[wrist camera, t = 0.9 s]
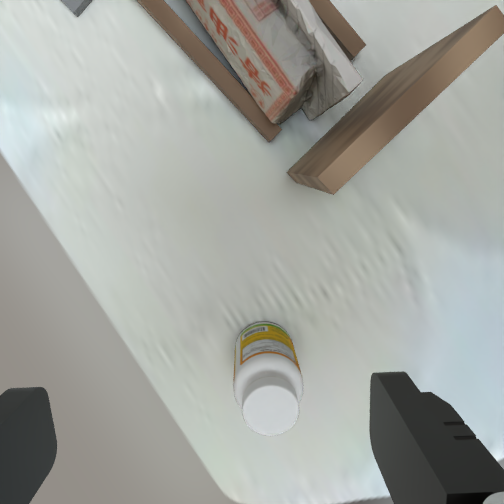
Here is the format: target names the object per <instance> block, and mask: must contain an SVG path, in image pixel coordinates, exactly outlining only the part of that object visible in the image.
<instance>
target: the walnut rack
mask: <svg viewBox="0 0 504 504" xmlns="http://www.w3.org/2000/svg"><path fill="white" fill-rule="evenodd" d="M137 1H138V2H139V3H140V4H141V5H142V7H143V8H144V9H145V10H146V11H147V12H148V13H149V14H150V15H151V16H152V17H153V18H154V19H155V21H156V22H157V23H158V24H159V25H160V26H161V27H162V28H163V29H164V30H165V31H166V32H167V33H168V35H169V36H170V37H171V38H172V39H173V40H174V41H175V42H176V43H177V44H178V45H179V46H180V47H181V49H182V50H183V51H184V52H185V53H186V54H187V55H188V56H189V57H190V58H191V59H192V60H193V61H194V62H195V64H196V65H197V66H198V67H199V68H200V69H201V70H202V71H203V72H204V73H205V74H206V75H207V76H208V78H209V79H210V80H211V81H212V82H213V83H214V84H215V85H216V86H217V87H218V88H219V89H220V90H221V92H222V93H223V94H224V95H225V96H226V97H227V98H228V99H229V100H230V101H231V102H232V103H233V104H234V105H235V107H236V108H237V109H238V110H239V111H240V112H241V113H242V114H243V115H244V116H245V117H246V118H247V119H248V121H249V122H250V123H251V124H252V125H253V126H254V127H255V128H256V129H257V130H258V131H259V132H260V133H261V135H262V136H263V137H264V138H265V139H266V140H267V141H268V142H270V141H271V140H272V139H273V138H274V137H275V136H276V135H277V134H278V133H279V132H280V131H281V130H282V129H281V128H280V127H279V126H278V125H277V124H275V123H272V122H271V121H270V120H269V118H268V117H267V116H266V115H265V113H264V112H263V111H262V110H261V108H260V107H259V106H258V104H257V103H256V101H255V100H254V98H253V97H252V96H251V95H250V94H249V93H248V92H247V91H246V90H245V89H244V88H243V86H242V85H241V84H240V83H239V82H238V81H237V80H236V79H235V78H234V77H233V76H232V74H231V73H230V72H229V71H228V70H227V69H226V68H225V67H224V66H223V65H222V64H221V62H220V61H219V60H218V59H217V58H216V57H215V56H214V55H213V54H212V53H211V52H210V50H209V49H208V48H207V47H206V46H205V45H204V44H203V43H202V42H201V41H200V40H199V38H198V37H197V36H196V35H195V34H194V33H193V32H192V31H191V30H190V29H189V27H188V26H187V25H186V24H185V23H184V22H183V21H182V20H181V19H180V18H179V17H178V15H177V14H176V13H175V12H174V11H173V10H172V9H171V8H170V7H169V6H168V5H167V3H166V2H165V1H164V0H137ZM309 2H310V3H311V5H312V6H313V8H314V10H315V11H316V13H317V15H318V16H319V18H320V19H321V21H322V23H323V24H324V25H325V27H326V28H327V30H328V31H329V32H330V34H331V35H332V37H333V38H334V39H335V41H336V42H337V44H338V45H339V47H340V48H341V49H342V51H343V52H344V54H345V55H346V56H347V58H348V59H349V61H351V60H352V59H353V58H354V57H355V56H356V55H357V54H358V53H359V52H360V51H361V50H362V49H363V48H364V47H365V46H366V44H365V43H364V42H363V40H362V39H361V38H360V37H359V36H358V34H357V33H356V32H355V31H354V29H353V28H352V27H351V26H350V25H349V23H348V22H347V21H346V20H345V19H344V17H343V16H342V15H341V14H340V12H339V11H338V10H337V9H336V8H335V6H334V5H333V4H332V3H331V2H330V0H309ZM503 34H504V15H503V14H502V12H501V11H500V10H499V8H498V7H497V5H495V6H494V7H492V8H491V9H489V10H487V11H486V12H484V13H483V14H481V15H480V16H478V17H476V18H475V19H473V20H472V21H470V22H468V23H467V24H465V25H464V26H462V27H461V28H459V29H457V30H456V31H454V32H453V33H451V34H450V35H448V36H446V37H445V38H443V39H442V40H440V41H439V42H437V43H435V44H434V45H432V46H431V47H429V48H427V49H426V50H424V51H423V52H421V53H420V54H418V55H416V56H415V57H413V58H412V59H410V60H409V61H407V62H405V63H404V64H402V65H401V66H399V67H398V68H396V69H394V70H393V71H391V72H390V73H388V74H386V75H385V76H384V77H383V78H382V79H381V80H380V81H379V82H378V83H377V84H376V85H375V86H374V87H373V88H372V89H371V90H370V91H369V92H368V93H367V94H366V95H365V96H364V97H363V98H362V99H361V100H360V101H359V102H358V103H357V104H356V105H355V106H354V107H353V108H352V109H351V110H350V111H349V112H348V113H347V114H346V115H345V116H343V117H342V118H341V119H340V120H339V121H338V122H337V123H336V124H335V125H334V126H333V127H332V128H331V129H330V130H329V131H328V132H327V133H326V134H325V135H324V136H323V137H322V138H321V139H320V140H319V141H318V142H317V143H316V144H315V145H314V146H313V147H312V148H311V149H310V150H309V151H308V152H307V153H306V154H305V155H304V156H303V157H302V158H301V159H300V160H299V161H298V162H297V163H296V164H295V165H294V166H292V167H291V168H290V169H289V170H288V171H287V173H288V174H289V175H290V176H291V177H292V178H293V180H294V181H295V182H296V183H299V184H302V185H305V186H308V187H311V188H315V189H318V190H321V191H324V192H327V193H330V194H333V195H334V194H335V193H336V192H337V191H338V190H339V189H340V188H341V187H342V186H343V185H344V184H345V183H346V182H347V181H349V180H350V179H351V178H352V177H353V176H354V175H355V174H356V173H357V172H358V171H359V170H360V169H361V168H362V167H363V166H364V165H365V164H366V163H368V162H369V161H370V160H371V159H372V158H373V157H374V156H375V155H376V154H377V153H378V152H379V151H380V150H381V149H382V148H383V147H384V146H385V145H386V144H388V143H389V142H390V141H391V140H392V139H393V138H394V137H395V136H396V135H397V134H398V133H399V132H400V131H401V130H402V129H403V128H404V127H405V126H407V125H408V124H409V123H410V122H411V121H412V120H413V119H414V118H415V117H416V116H417V115H418V114H419V113H420V112H421V111H422V110H423V109H424V108H426V107H427V106H428V105H429V104H430V103H431V102H432V101H433V100H434V99H435V98H436V97H437V96H438V95H439V94H440V93H441V92H442V91H443V90H445V89H446V88H447V87H448V86H449V85H450V84H451V83H452V82H453V81H454V80H455V79H456V78H457V77H458V76H459V75H460V74H461V73H462V72H463V71H465V70H466V69H467V68H468V67H469V66H470V65H471V64H472V63H473V62H474V61H475V60H476V59H477V58H478V57H479V56H480V55H481V54H482V53H484V52H485V51H486V50H487V49H488V48H489V47H490V46H491V45H492V44H493V43H494V42H495V41H496V40H497V39H498V38H499V37H500V36H501V35H503Z"/></svg>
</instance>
